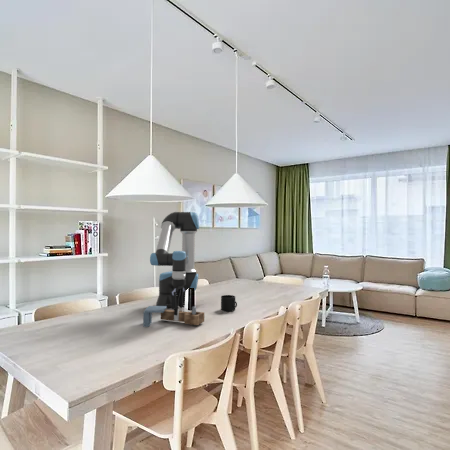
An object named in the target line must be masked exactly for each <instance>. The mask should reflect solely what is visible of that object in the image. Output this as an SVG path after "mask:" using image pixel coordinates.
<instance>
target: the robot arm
mask: <svg viewBox="0 0 450 450" xmlns="http://www.w3.org/2000/svg"><path fill="white" fill-rule="evenodd" d="M160 228H161V231H160V235H159V238H158V242H157V245H156V249H155V252H151V254H150V257H149V262H150V265H151V266H153V267H154V266H155V267H156V266H157V267H161V266H163V267H166V266H167V267H169V266H170V267H172V268H171V269H172V270H171V271H170V270H169V271H165V272H162V273H160V274H159V278H158V279H159V280H158V297H157V301H156V303H155V304H156V305H155V306H167V308H166V309H171V310H174V321H173V322H179V311H183V308H185V305H186V292H187V291H186V290H187V289H188V288H194V291H196V290H197V288H198V287H197V286H198V283H199V277H200V276H199V273H197V270H196V269H195V246H196V245H195V242H196V241H195V239H196V238H195V237H196V233H197V232H198V230H199V229H200V222H199V215H198V213H197V212H194V211H174V212H171V213H169V214H167V215H166V216H165V218H163V220H162V222H161V225H160ZM176 229H177V230H179V232H180V233H181V234H182V236H181V250H175V251H173V252H171V253H170V252H169V251H170V247H171V241H172V237H173V233H174V232H175V230H176Z"/></svg>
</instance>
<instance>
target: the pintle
mask: <svg viewBox="0 0 450 450" xmlns="http://www.w3.org/2000/svg"><path fill="white" fill-rule="evenodd" d="M191 311H192V315H196V312H197V306H196V305H192V306H191Z"/></svg>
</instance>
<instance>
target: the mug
mask: <svg viewBox="0 0 450 450" xmlns="http://www.w3.org/2000/svg"><path fill="white" fill-rule="evenodd" d="M237 306H238V302H237V301H236V296H235V295H233V294H223V295H221V296H220V310H221V311H222V312H225V313H230V312H235V311H236V308H237Z"/></svg>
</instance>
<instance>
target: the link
mask: <svg viewBox="0 0 450 450" xmlns="http://www.w3.org/2000/svg"><path fill="white" fill-rule="evenodd" d="M160 320H161V321H162V320H163V321H164V320H165V321H173V322H175V321H174V309H165V311H164V313H160ZM178 322H179V323H180V322H181V323H184V325H191V326H199V325H202V323H204V322H205V312H202V311H196V315H192V310H190V311H183V310H182V311H179V321H178Z"/></svg>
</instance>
